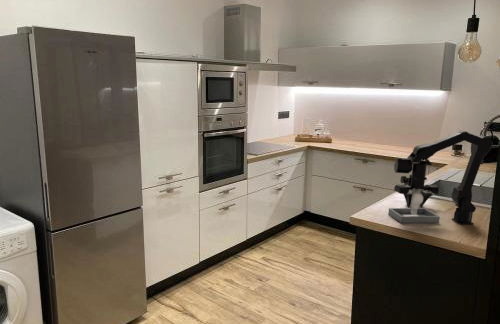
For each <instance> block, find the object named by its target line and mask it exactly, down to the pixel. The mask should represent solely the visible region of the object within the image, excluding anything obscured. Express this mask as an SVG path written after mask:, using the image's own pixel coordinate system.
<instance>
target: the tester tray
mask: <svg viewBox="0 0 500 324" xmlns="http://www.w3.org/2000/svg"><path fill="white" fill-rule="evenodd" d="M387 215H389V217H391V218H392V219H394V220H395V221H396V222H398V223H400V224H403V225H404V224H439V223H440V216H439V215H438V214H436V213H435V212H433V211H431V210H429V209H427V208H425V207H422V208H421V207H419V208H418V210H417V214H416V215H413V214H411V207H409V208H408V207H393V208H392V207H390V208H388V214H387Z"/></svg>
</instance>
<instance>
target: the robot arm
mask: <svg viewBox="0 0 500 324" xmlns="http://www.w3.org/2000/svg"><path fill="white" fill-rule="evenodd" d="M462 142H467V143H470V157H469V160H468V163H467V165H466V168H465V171H464V174H463V176H462V179H461V182H460V184H459V185H458V186H457V187H455V186H454V187H453V189H452V192H451V194H450V196H451V200H452V202H453V203H454V206H455V207H456V208H455V211H454V215H453V218H451V220H452V221H454V222H455V223H457V224H459V225H474V222H473V221H472V220H473V215H474V213H475V211H476V209H477V207H476V206H475V205H474V204H473V203H472V198H473V185H474V183H475V180H476V179H477V175H478V172H479V169H480V167H481V164H482V162H483V158H484V157H486V155H487V154H488V153H489V152H490V150H491V149H492V147H493V140H492V139H491V138H490V137H488V136H484V135H482V134H478V135H475V134H472V133H470V132H468V131H465V130H459V131H458V132H455V133H453V134H451V135H448V136H445V137H443V138H441V139H439V140H436V141H434V142H430V143H423V144H419V145H416V146H414V147H413V149H412V152H411V153H410V154H409V155H408V156H407V158H403V157H396V160H395V162H394V164H393V170H394V172H395V174H409V173H411V174H409V177H407V176H406V175H402V176H400V183H401V184H395V186H394V189H393V191H395V192H396V193H398V194H401V195H402V194H403V196H404V199H405V200H404V201H405V203H406V208H411V206H410V204H411V199H412V194H410V193H411V191H420V193H421V194H422V195H423V202H422V203H421V204H420V207H419V208H423V207H424V205H425V204H426V202H427V201H428V199H429V198H431V197H432V196H431V195H433V194H434V195H437V194H440V187H438V186H437V185H434V184H425V183H426V181H427V180H428V177H426V175H427V168H428V167H427V166H432V165H433V163H432V162H431V161H430V158H431V157H433V156H434V155H435V154H436V153H438V152H439V151H442V150H445V149H447V148H449V147H453V146H455V145H457V144H460V143H462ZM405 185H408V186H410V187H407V186H405ZM424 185H425V186H424ZM432 193H433V194H432ZM434 195H433V196H434ZM430 196H431V197H430Z"/></svg>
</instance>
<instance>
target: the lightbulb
mask: <svg viewBox="0 0 500 324" xmlns="http://www.w3.org/2000/svg"><path fill="white" fill-rule="evenodd" d="M410 194H412V199H411V206H410V208H411V214H413V215H416V214H417V210H418V208H420V207H419V205H420V204H421V203H422V202H423V195H422V194H421V193H420V192H418V191H413V192H411V193H410Z"/></svg>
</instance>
